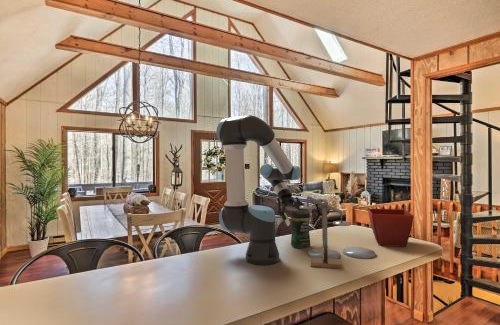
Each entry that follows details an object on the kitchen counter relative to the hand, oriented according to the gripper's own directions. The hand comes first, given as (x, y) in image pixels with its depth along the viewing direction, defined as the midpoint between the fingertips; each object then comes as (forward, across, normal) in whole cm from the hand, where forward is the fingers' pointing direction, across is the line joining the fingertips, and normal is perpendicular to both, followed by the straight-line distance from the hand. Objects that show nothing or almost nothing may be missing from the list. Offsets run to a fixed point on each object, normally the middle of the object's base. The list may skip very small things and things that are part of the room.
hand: (299, 223), depth 148 cm
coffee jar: (+10, +1, -7) cm, 12 cm away
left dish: (+21, +1, +6) cm, 22 cm away
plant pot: (+23, -43, +7) cm, 49 cm away
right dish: (+26, -14, +10) cm, 31 cm away
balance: (+28, +10, +13) cm, 32 cm away
